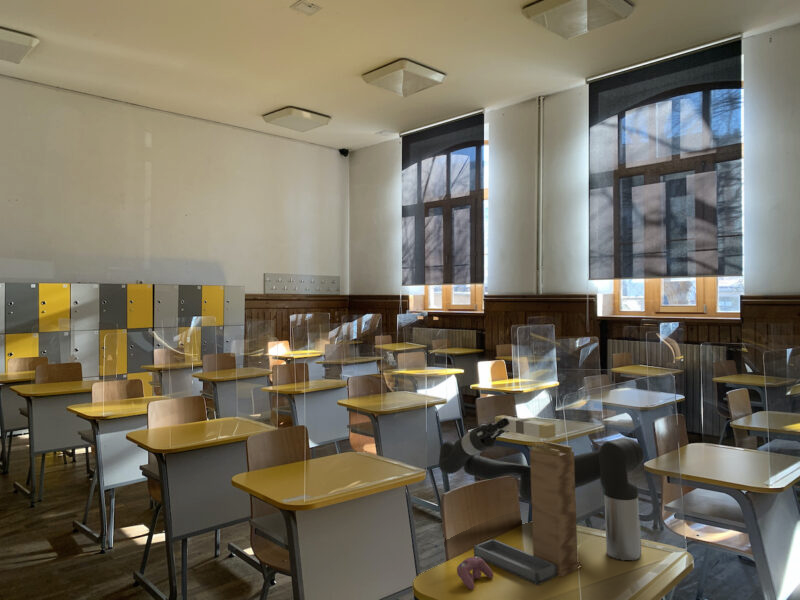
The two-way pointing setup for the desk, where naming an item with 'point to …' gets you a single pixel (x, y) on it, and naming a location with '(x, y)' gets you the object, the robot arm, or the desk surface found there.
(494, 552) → the parts tray
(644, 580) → the desk surface
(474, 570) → the video game controller
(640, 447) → the robot arm
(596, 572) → the desk surface
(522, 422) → the block
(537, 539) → the brown wooden tall block
